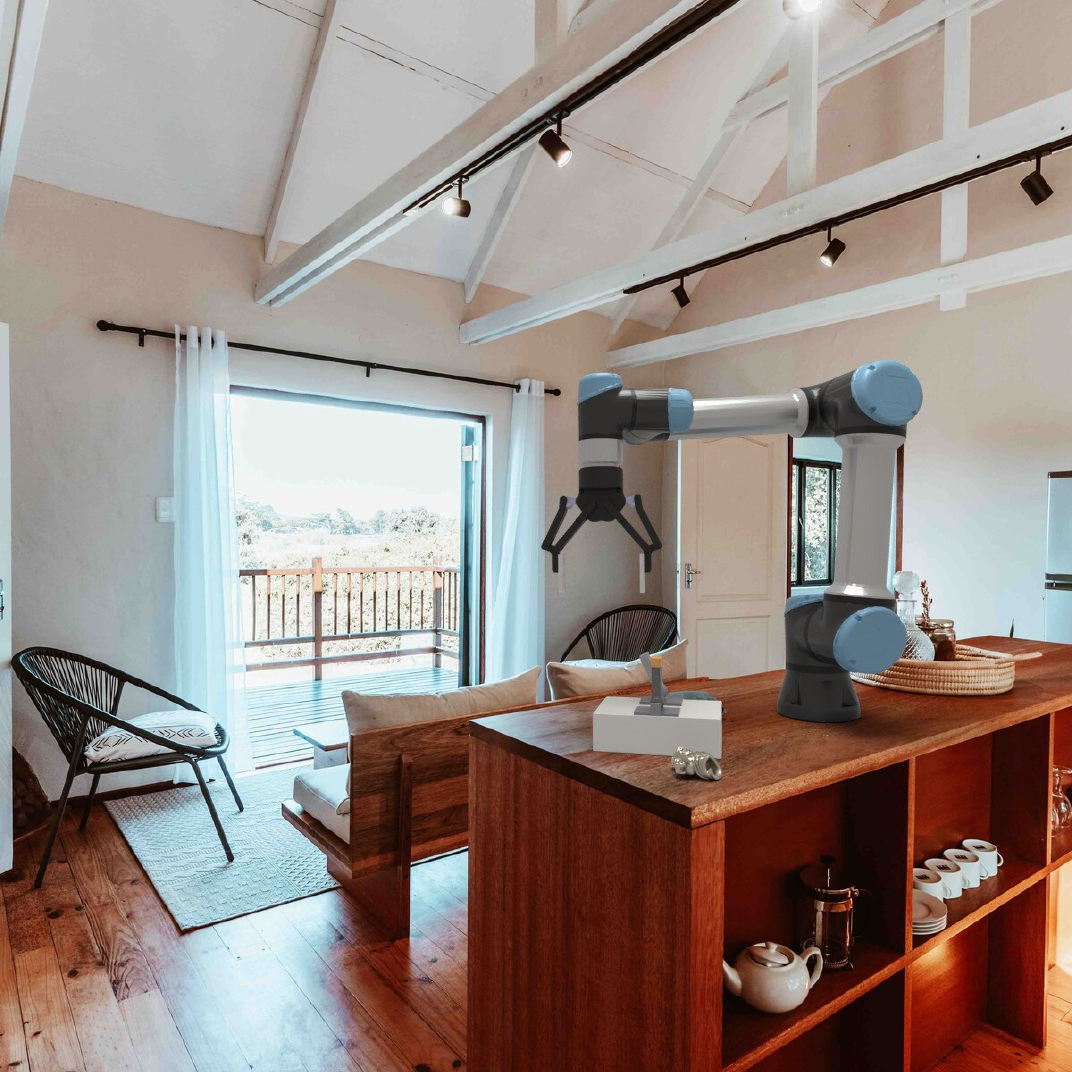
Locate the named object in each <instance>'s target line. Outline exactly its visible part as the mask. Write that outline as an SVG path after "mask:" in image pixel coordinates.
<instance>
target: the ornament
mask: <svg viewBox="0 0 1072 1072" xmlns="http://www.w3.org/2000/svg"><path fill="white" fill-rule="evenodd" d="M671 765H672V766H673V768H674V769H675V773H676V774H680V775H690V776H692V775H693V776H694V775H695V774H696V775H697V776H698V777H700V778H701V779H703V780H715V781H716V780H717V781H718V780H721V778H722V776H723V772H722V768H721V765H720V763H719V762H718V761H717V760H716V758H713V756H712V755H711V754H710V753H705V752H703V751H702V752H699V751H695V752H693V751H692V750H690V749H686V751H683V747H678V749H677V750H676V752H675V754H674V756H671Z"/></svg>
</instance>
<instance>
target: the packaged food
mask: <svg viewBox="0 0 1072 1072" xmlns="http://www.w3.org/2000/svg"><path fill="white" fill-rule="evenodd" d="M666 697H674V698H683V699H684V700H708V701H718V699H717V698H716V697H715V696H714V695H713V694H711V693H709V692H707V691H700V690H680V691H673V692H671V691H670V692H669V691H668V692H667V695H666ZM721 707H722V713H724V714H727V712H728V711H727V710H726V709H725V707H724V706H723V705H722V704H721Z"/></svg>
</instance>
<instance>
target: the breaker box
mask: <svg viewBox="0 0 1072 1072" xmlns="http://www.w3.org/2000/svg"><path fill="white" fill-rule="evenodd" d="M639 655H640V656H639V658H638V659H640V662H641V664H642V666H643V668H644V670H645V673H646V674H647V677H648V679H649V681H650V683H651V684H652V667H651V657H652V656H651V655H650V652H649V651H646V652H644V653H642V654H639ZM668 693H669V690H668V687H667V686H666V685H665V684H664V682H663V681H662V696H663V697H664V703H663V705H662V707H661V703H651V705H650V701H651V698H652V696H650V695H649V696H646V695H645V696H644V695H642V696H641V697H636V696H635V697H632V696H630V697H628V696H609V695H608V696H605V698H603V700H602V702H601V703H600V704H599V705H598V706H597V708H596V709H595V711H593V713H592V733H593V734H592V741H593V743H592V745H593V746H592V748H593V749H592V750H593V752H599V753H600V752H603V753H620V754H621V753H623V754H636V755H638V754H639V755H650V756H651V755H652V756H653V755H654V756H671V757H673V756H674V754H675V752H676V750H677V749H678V747H683V751H686V749H690V750H692V751H693V752H695V751H699V752H702V751H703V752H705V753H710V754H711V755H712V756H713V758H714V759H717V760H718V759H720V760H721V759H722V751H723V750H722V748H723V747H722V746H723V745H722V743H723V741H722V740H723V726H722V725H723V724H722V723H723V721H722V719H723V718H722V716H723V715H722V714H723V712H722V707H721V705H722V700H717V701H708V700H684V699H683V698H674V697H666V695H668Z"/></svg>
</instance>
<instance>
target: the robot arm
mask: <svg viewBox="0 0 1072 1072" xmlns="http://www.w3.org/2000/svg"><path fill="white" fill-rule="evenodd" d="M577 391H578V394H577V403H576V406H577V424H578V425H577V427H578V428H577V431H578V432H577V433H578V435H577V436H578V440H577V448H578V449H577V452H578V453H577V454H578V455H577V459H578V460H577V461H578V465H579V466H580V468H579V470H578V472H577V473H578V494H577V497H570V496H566V495H561V496H560V497H559V505H558V506H559V507H558V510H557V512H556V514H555V516H554V518H553V521H552V522H551V525H550V526H549V528H548V531H547V533H546V535H545V537H544V539H543V541H542V543H541V545H540V547H541V549H542V550H543V551H546V552H549V553H550V554H551V570H552V573H554V574H555V573H556V574H558V581H557V582H558V593H559V594H563V593H566V554H565V553H561V552H562V550H563V549H564V548H565V547H566V546H567V544H569V542H570V541H571V540H572V538H574V536H575V535H576V534H577V532H578V531H580V529H581V528H582V526H584V524H585V523H586V522H587V521H589V522H591V523H599V522H604V523H612V522H614V521H616V522H618V523H619V524H620V525H621V527H622V528H623V529H624V530H625V531H626V533H627V534H628V535H629V536H630V537H631V538H632V539H633V540H634V542H635V543H636V545H638V546H639V547H640V549H641V550H642V551H643V553H639V593H640V594H645V593H646V573H649V574H650V573H651V572H652V569H653V568H652V567H653V566H652V563H653V562H652V561H653V560H652V557H653V556H652V554H653V553H654V552H656V551H659V550H661V549H662V547H663V543H662V542H661V539H660V538H659V536H658V534H657V532H656V530H655V528H654V525H653V524H652V522H651V520H650V518H649V517H648V514H647V512H646V510H645V509H644V504H643V498H642V495H641V494H638V493H637V494H635V495H630V496H625V493H624V469H623V468H622V467H621V465H623V463H624V455H623V453H624V449H623V448H624V446H623V445H624V444H625V445H628V446H641V445H643V444H645V443H655V442H657V443H658V442H667V441H683V440H695V439H696V440H699V439H700V440H701V439H715V438H716V439H717V438H732V437H749V436H751V437H752V436H763V435H764V436H765V435H778V434H779V435H781V434H784V435H785V434H788V435H789V436H790V437H792V438H794V439H802V438H826V439H827V438H831V439H833V440H834V442H835V443H836V444H837V445H838V446H839V447H840V448H841V449H842V454H841V470H840V484H839V485H840V486H839V487H840V488H839V499H838V514H837V516H838V517H837V528H836V530H837V532H836V543H835V545H836V546H835V559H834V561H835V562H834V573H833V576H834V577H833V582H832V584H831V585H830V586H828V587H827V588H826V589H825V590H824V591H823V593H814V594H799V595H792V596H789V597H788V598H787V599H786V602H785V607H784V615H783V617H784V625H785V626H784V629H785V630H784V631H785V632H784V635H785V637H784V638H785V640H784V641H785V675H784V677H783V681H782V684H781V687H780V690H779V692H778V695H777V696H778V697H777V699H776V711H777V713H778V714H780V715H782V716H785V717H788V718H791V719H797V720H802V721H809V722H823V723H824V722H825V723H842V722H850V721H856V720H857V719H858V720H859V718H861V704H860V700H859V697H858V694H857V692H856V689H855V686H854V683H853V680H852V678H851V677H852V676H851V673H854V674H855V673H858V674H865V675H876V674H880V673H883V672H885V671H888V670H890V668H891V667H893V666H894V665H895V664H897V662H899V660H900V659H901V658H902V657H903V654H904V652H905V649H906V647H907V643H908V642H907V640H908V634H907V628H906V626H905V623H904V622H903V621H902V619H901V617H900V616H899V615H898V614H897V613H896V612H895V611H896V596H895V595H894V594H893V593H892V592H891V591H890V590H889V588H888V586H887V585H888V568H889V556H890V554H889V553H890V541H891V540H890V539H891V524H892V512H893V511H892V510H893V509H892V508H893V495H894V493H893V492H894V482H895V481H894V479H895V464H896V463H895V462H896V451H897V449H899V447H901V446H903V444H905V443H906V441H907V431H908V430H907V429H908V423H909V422H911V421H912V420H913V419H914V418H915V417H916V416H917V414H919V412H920V410H921V408H922V405H923V400H924V399H923V398H924V396H923V395H924V394H923V393H924V392H923V389H922V385H921V382H920V380H919V379H918V376H917V375H916V374H915V373H913V372H912V371H911V369H910V368H909V367H908V366H906V365H905V364H903V363H901V362H899V361H896V360H892V359H881V360H877V361H873V362H867V363H865V364H862V365H861V366H859V367H857V368H856V369H854V370H853V369H852V371H848V372H847V373H846V372H845V373H844V374H841V375H839V376H836V377H834V378H831V379H829V380H827V381H823V382H821V383H818V384H814V385H811V386H810V385H809V386H804V387H803V386H802V387H794V388H792V389H790V390H789V391H788V393H777V394H763V395H761V394H759V395H746V396H745V395H743V396H727V397H710V398H709V397H708V398H694V397H693V395H692V394H691V392H690V391H689V390H688V389H685V388H683V389H682V388H674V387H669V388H668V387H667V388H665V387H664V388H663V387H662V388H659V387H658V388H657V387H653V388H649V387H648V388H647V387H627V386H624V383H623V379H622V377H621V375H619V374H617V373H611V372H596V373H595V372H593V373H589V374H586V375H584V376H583V377H581V379H579V382H578V390H577ZM693 398H694V399H693ZM626 504H629V505H630V508H632V509H635V511H636V514H637V515H638V517H639V519H640V521H641V523H642V525H643V527H644V529H645V531H646V533H647V534H648V536H649V538H650V541H651V542H652V543H651V544H648V543H647V541H646V540H645V539H644V538H643V537H642V536H641V534H640V533H639V532H638V531H637V530H636V529H635V528H634V526H633V525H632V524H631V523H630V521H628V520H627V518H626V517H625V516H624V514H622V513H621V511H622V510H623V509H624V507H625V506H626ZM574 505H576V506H577V507H578V509H579V510H580V513H579V515H578V516H577V517H576V519H575V520H574V521H573V522H572V524H571V525H570V526H569V527H568V528H567V530H566V531H565V532H564V533H563V534H562V536H561V537H560V538H559V540H558V541H557V542H556V543H555V544H554V545H553V543H554V541H555V540H556V537H557V535H558V532H559V530H560V528H561V526H562V524H563V522H564V520H565V518H566V516H567V513H568V510H571V509H572V508H573V506H574Z"/></svg>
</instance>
